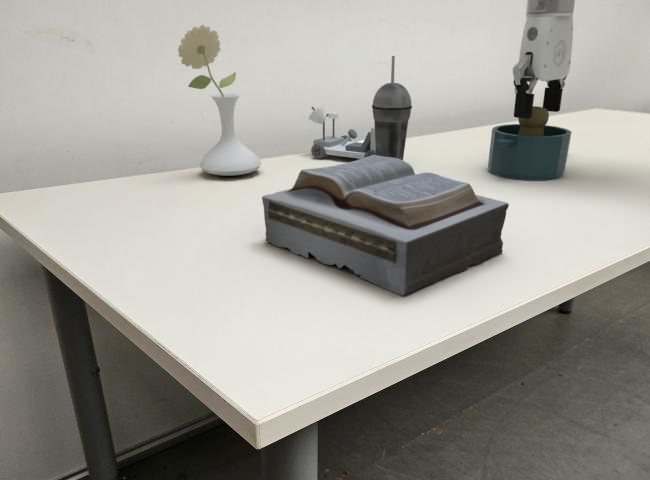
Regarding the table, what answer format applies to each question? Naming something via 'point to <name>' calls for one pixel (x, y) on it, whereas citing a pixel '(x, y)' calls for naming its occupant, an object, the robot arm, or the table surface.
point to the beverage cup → (391, 118)
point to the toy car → (340, 140)
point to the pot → (528, 153)
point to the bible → (386, 222)
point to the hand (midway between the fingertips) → (536, 114)
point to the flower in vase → (229, 151)
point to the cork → (534, 122)
